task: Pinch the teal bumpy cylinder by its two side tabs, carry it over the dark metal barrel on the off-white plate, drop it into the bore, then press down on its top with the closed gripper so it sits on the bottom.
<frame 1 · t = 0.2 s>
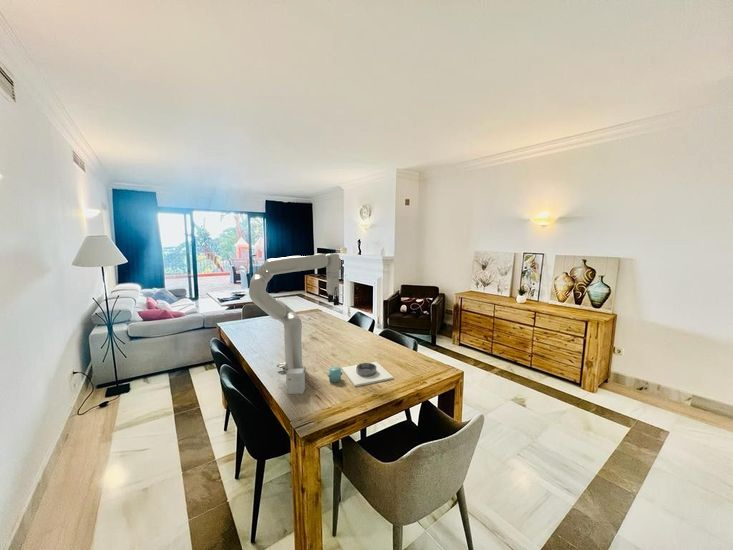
hand: (333, 303, 175), 36 cm above the table, tool pointing down, fingers open, 9 cm apart
teal bumpy cylinder: (335, 379, 158), on the table
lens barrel: (366, 369, 164), on the mount plate, point 2 cm above the table
mount plate: (366, 373, 165), on the table
small box: (296, 391, 146), on the table
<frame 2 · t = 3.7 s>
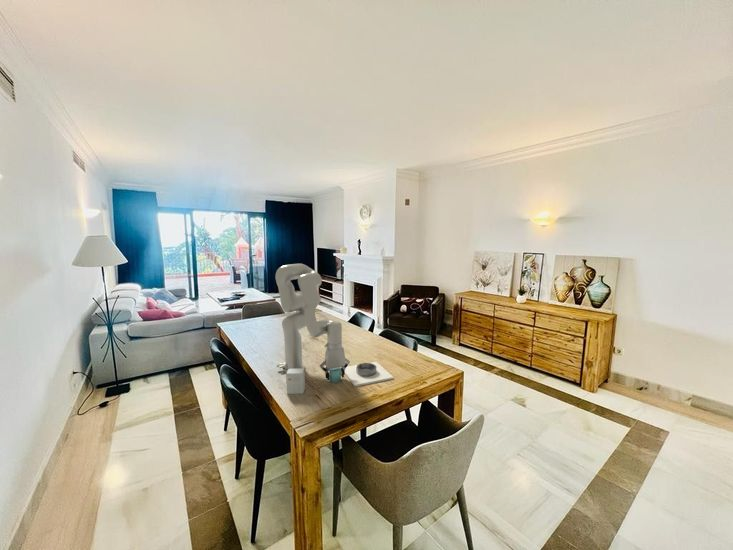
hand: (335, 377, 158), 1 cm above the table, tool pointing down, fingers closed on teal bumpy cylinder, 7 cm apart
teal bumpy cylinder: (335, 379, 158), on the table, touching gripper
everything else where it was.
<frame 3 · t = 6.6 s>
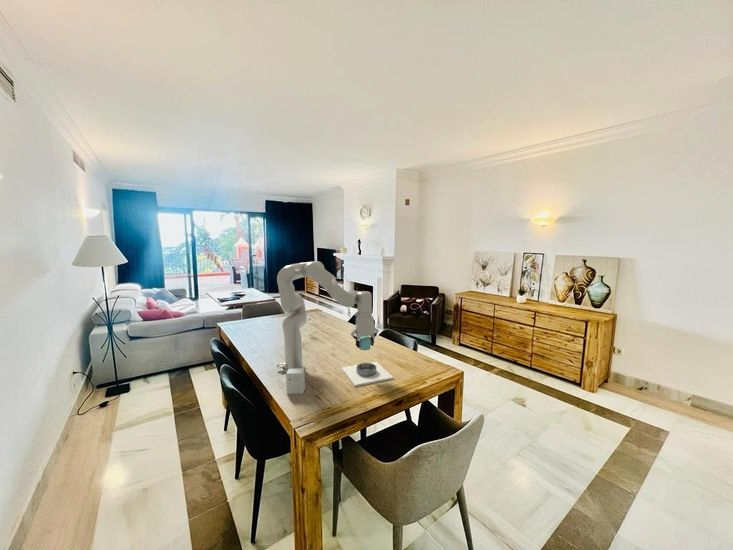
hand: (364, 345, 162), 16 cm above the table, tool pointing down, fingers closed on teal bumpy cylinder, 7 cm apart
teal bumpy cylinder: (364, 348, 162), point 15 cm above the table, touching gripper
everything else where it was.
when the fingers open (5 cm above the table, at t = 9.3 s): teal bumpy cylinder drops 3 cm, resting on mount plate.
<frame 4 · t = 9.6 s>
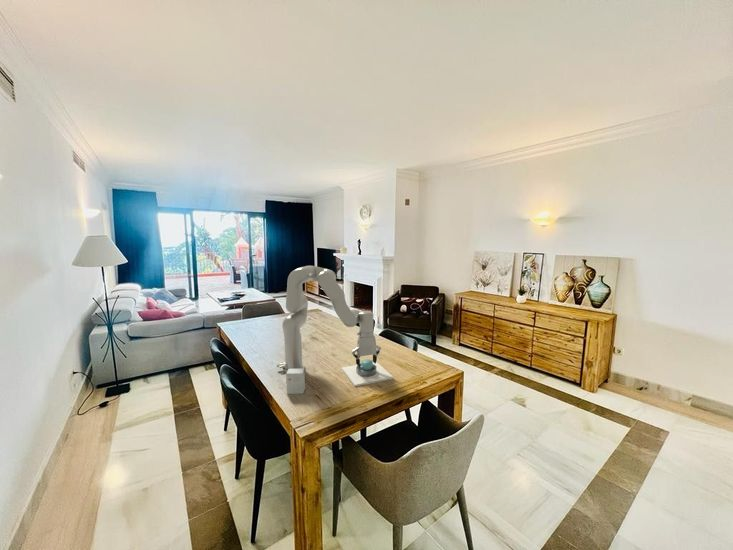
hand: (366, 363, 164), 6 cm above the table, tool pointing down, fingers open, 9 cm apart
teal bumpy cylinder: (367, 372, 165), point 1 cm above the table, touching mount plate
everything else where it was.
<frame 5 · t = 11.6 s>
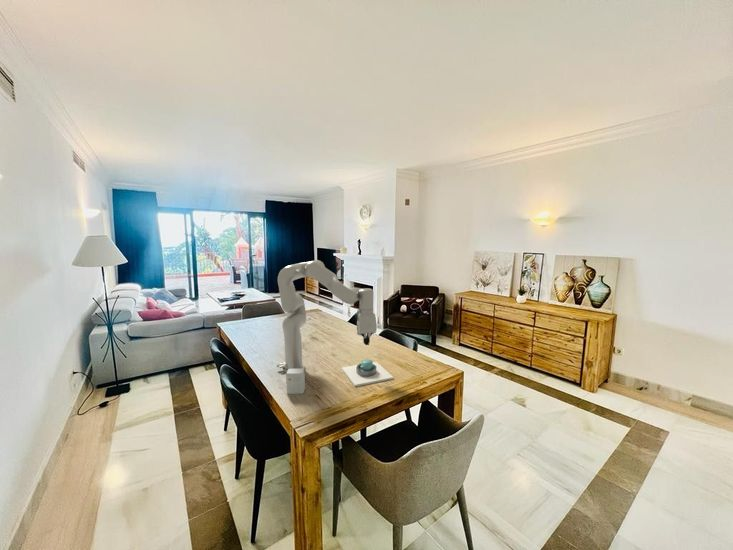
hand: (366, 344, 163), 17 cm above the table, tool pointing down, fingers closed
nothing on the table moved.
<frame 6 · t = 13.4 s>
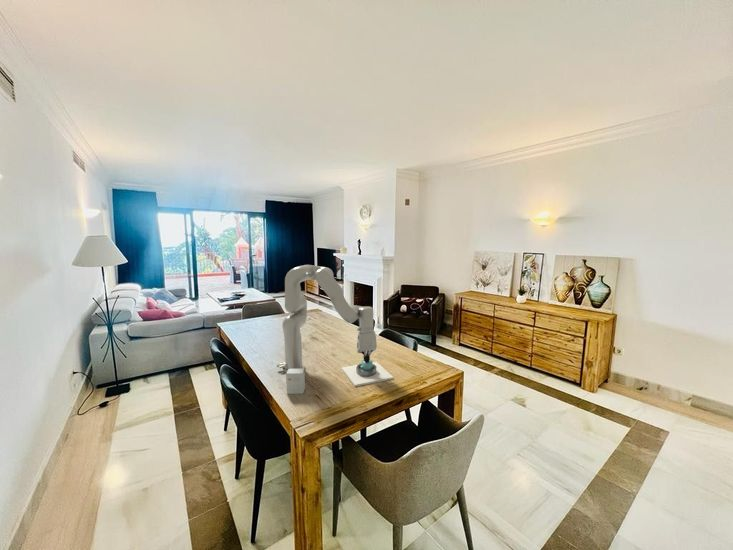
hand: (366, 361, 164), 7 cm above the table, tool pointing down, fingers closed
teal bumpy cylinder: (367, 372, 165), point 1 cm above the table, touching gripper, mount plate
everything else where it was.
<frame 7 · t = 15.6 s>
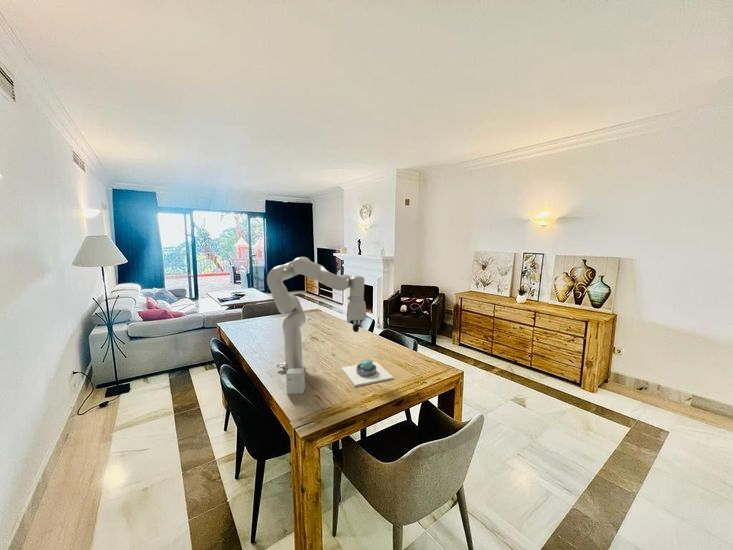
hand: (355, 331, 165), 23 cm above the table, tool pointing down, fingers closed
teal bumpy cylinder: (367, 372, 165), point 1 cm above the table, touching mount plate
everything else where it was.
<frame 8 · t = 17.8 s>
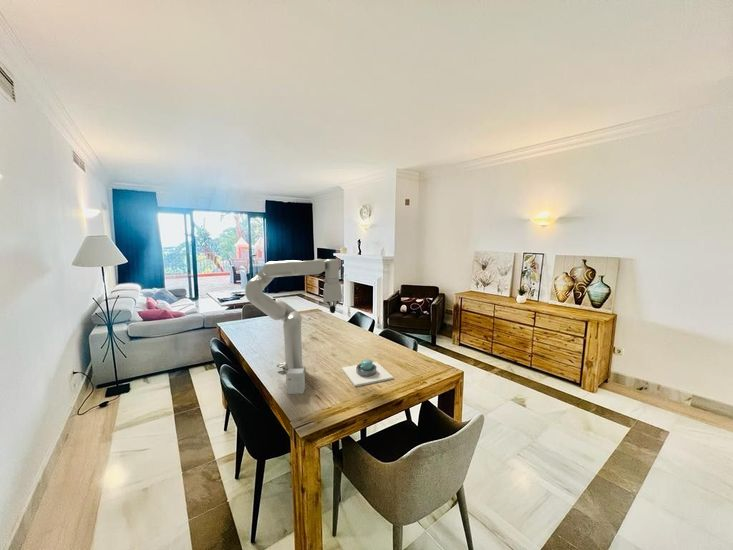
hand: (332, 312, 171), 32 cm above the table, tool pointing down, fingers closed
nothing on the table moved.
at the end: teal bumpy cylinder 0.3 cm off-centre on the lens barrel, point 1.0 cm above the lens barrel's base; teal bumpy cylinder tilted 0°; the gripper is holding nothing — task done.
